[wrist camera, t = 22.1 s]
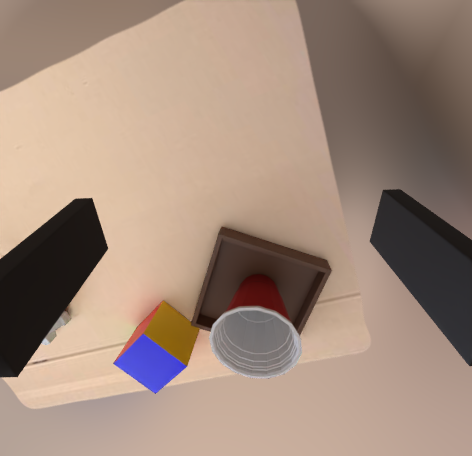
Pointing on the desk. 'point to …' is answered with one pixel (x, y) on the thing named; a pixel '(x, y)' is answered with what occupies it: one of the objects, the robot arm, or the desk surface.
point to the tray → (259, 262)
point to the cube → (158, 348)
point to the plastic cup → (256, 332)
